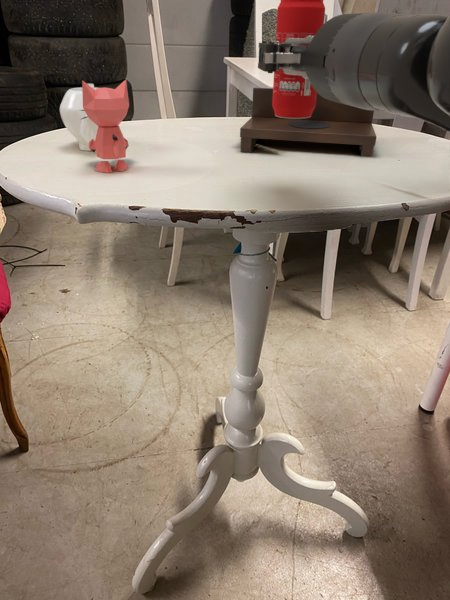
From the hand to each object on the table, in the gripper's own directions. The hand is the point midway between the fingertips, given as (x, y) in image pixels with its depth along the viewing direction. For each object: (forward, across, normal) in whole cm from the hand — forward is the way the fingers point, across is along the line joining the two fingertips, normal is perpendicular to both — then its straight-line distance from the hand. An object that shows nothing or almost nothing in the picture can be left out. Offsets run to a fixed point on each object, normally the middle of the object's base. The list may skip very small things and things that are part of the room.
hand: (288, 53), depth 56 cm
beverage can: (-3, 0, +7) cm, 7 cm away
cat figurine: (+13, +21, +16) cm, 29 cm away
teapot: (+28, +23, +16) cm, 39 cm away
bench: (+20, -14, +16) cm, 29 cm away
